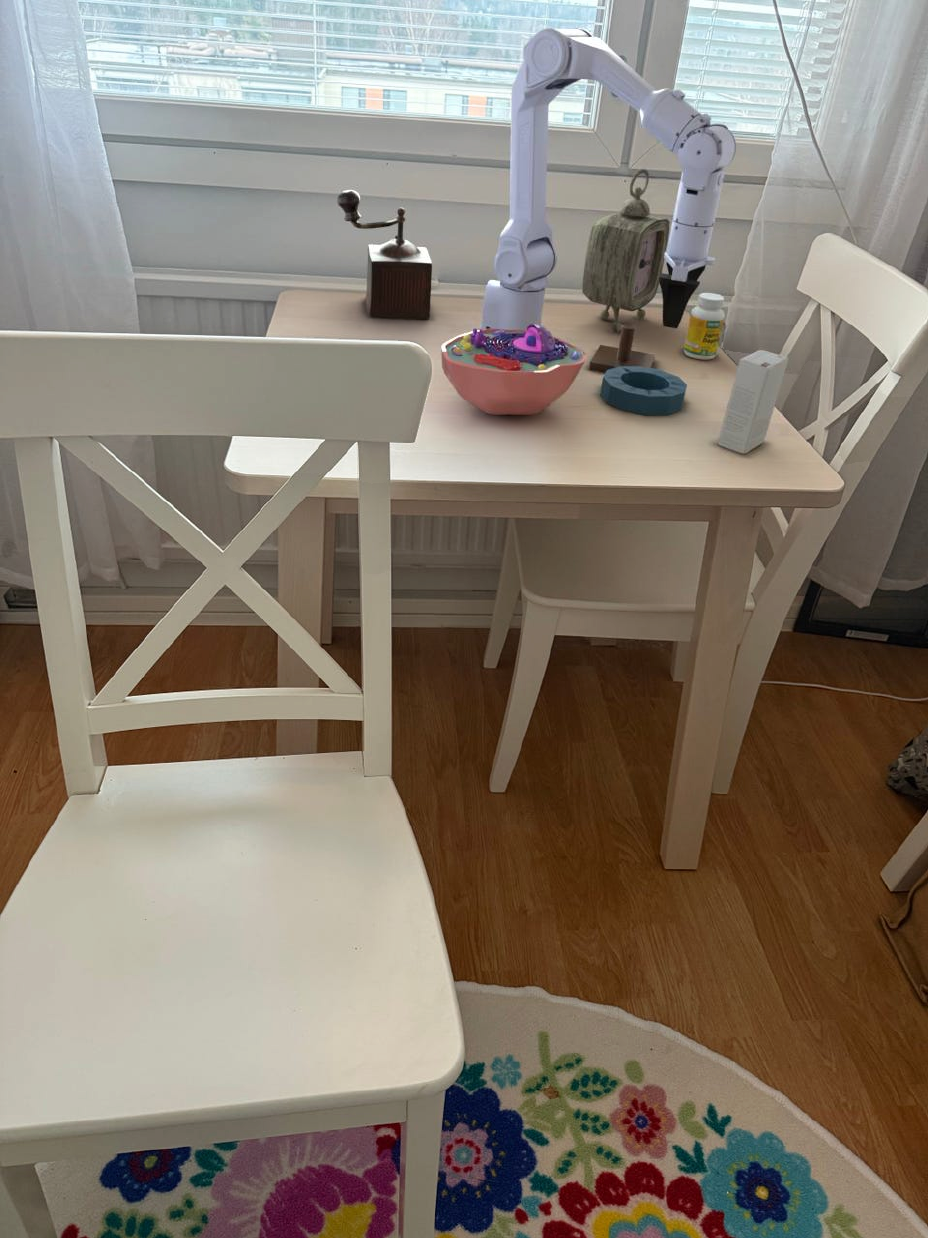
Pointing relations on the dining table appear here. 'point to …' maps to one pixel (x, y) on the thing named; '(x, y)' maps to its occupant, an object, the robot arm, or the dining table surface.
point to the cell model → (511, 368)
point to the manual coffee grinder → (393, 269)
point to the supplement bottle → (705, 327)
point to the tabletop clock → (625, 257)
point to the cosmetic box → (752, 401)
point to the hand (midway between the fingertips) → (673, 319)
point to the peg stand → (621, 354)
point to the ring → (643, 390)
